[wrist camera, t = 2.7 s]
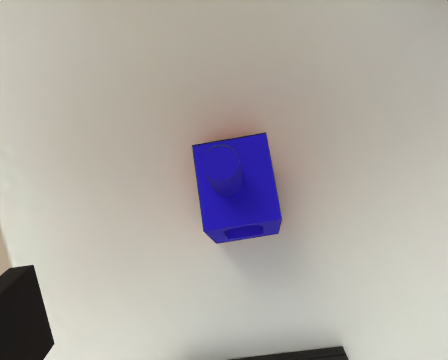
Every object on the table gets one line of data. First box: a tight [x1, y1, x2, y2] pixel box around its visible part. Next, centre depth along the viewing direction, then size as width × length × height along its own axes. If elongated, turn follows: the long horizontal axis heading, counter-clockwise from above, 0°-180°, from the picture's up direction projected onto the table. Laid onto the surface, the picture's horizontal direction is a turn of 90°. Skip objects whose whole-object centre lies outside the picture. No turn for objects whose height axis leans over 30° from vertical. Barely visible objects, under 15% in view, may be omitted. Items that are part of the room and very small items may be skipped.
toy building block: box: [192, 133, 282, 244], centre depth 20 cm, size 4×4×8 cm
